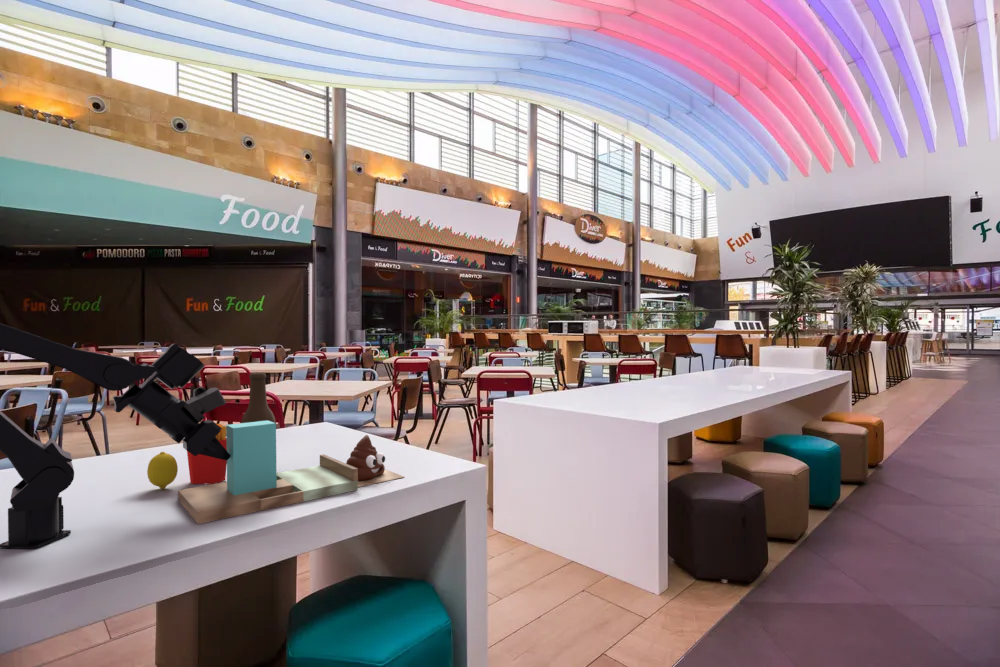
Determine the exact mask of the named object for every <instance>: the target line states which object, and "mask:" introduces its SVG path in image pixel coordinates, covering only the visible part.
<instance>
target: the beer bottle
mask: <svg viewBox="0 0 1000 667" xmlns="http://www.w3.org/2000/svg"><path fill="white" fill-rule="evenodd" d="M266 378H267V374H266V373H265V372H252V373H250V374H249V377H248V379H250V384H249V400H248V406H247V409H246V411H245V412H244V414H243V415H242V418H241V422H240V423H249V422H258V421H267V420H268V421H271V422H274V423H276V417H275V415H274V413H273V411H272V410H271V408H270V407H269V404H268V402H267V400H268V399H267V387H266ZM276 424H277V423H276Z"/></svg>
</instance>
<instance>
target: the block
mask: <svg viewBox="0 0 1000 667" xmlns="http://www.w3.org/2000/svg"><path fill="white" fill-rule="evenodd" d="M226 438H227V452H228V453H229V454H230V458H229V459H228V460H227V466H226V482H227V490H228V491H229V492H230V493H232V494H233V495H239V494H244V493H249V492H255V491H260V490H265V489H270V488H276V487H277V478H276V473H277V423H274V422H271V421H268V420H267V421H258V422H249V423H241V422H240V423H231V424H226Z"/></svg>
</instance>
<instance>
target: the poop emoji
mask: <svg viewBox="0 0 1000 667" xmlns="http://www.w3.org/2000/svg"><path fill="white" fill-rule="evenodd" d="M349 455H350V457H348V459H347V460H346V462H345V463H346V464H348V465H350V466H353V467H355V468H358V481H365V480H369V479H371V478H373V477H375V476H376V475H382V474H383V473H384V470H385V469H386V467H385V464H384V463H385V461H386V457H385V456H386V455H385V454H384V453H383V452H378V451H377V448H376V447H375V446H373V444H372V440H371V438H370V436H369V435H368V434H365V435H364V436H363V437H362V438H361V439H360V440H359V441H358V442H357V444H356V446H355V447H354V448H353V450H352V451H351V452H350V454H349Z"/></svg>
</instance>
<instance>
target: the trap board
mask: <svg viewBox="0 0 1000 667" xmlns="http://www.w3.org/2000/svg"><path fill="white" fill-rule="evenodd" d="M276 478H277V487H276V488H270V489H265V490H260V491H255V492H249V493H244V494H239V495H233V494H232V493H230V492H229V491H228V490H227V481H222V482H220V483H214V484H204V485H200V486H195V487H188V488H184V489H183V488H182V489H179V490H177V492H178V493H177V496H178V502H179V503H180V505H182V506H183V508H184V509H185V510H186V511H187V513H188V514H189V515H190V516H191V517H192V519H193V520H194V522H195V523H197V524H198V525H199V524H200V525H201V524H204V523H208V522H209V523H210V522H213V521H218V520H222V519H223V520H224V519H229V518H233V517H237V516H241V515H247V514H250V513H255V512H261V511H265V510H268V509H269V510H270V509H275V508H280V507H283V506H287V505H294V504H298V503H302V502H307V501H308V502H309V501H311V500H317V499H321V498H326V497H332V496H336V495H340V494H344V493H350V492H354V491H358V490H359V487H358V468H355V467H353V466H350V465H348V464H346V462H343V461H341V460H338V459H336V458H334V457H331V456H328V455H326V454H319V465H317V466H316V465H315V466H309V467H306V468H305V467H304V468H298V469H293V470H286V471H282V472H276Z"/></svg>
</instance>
